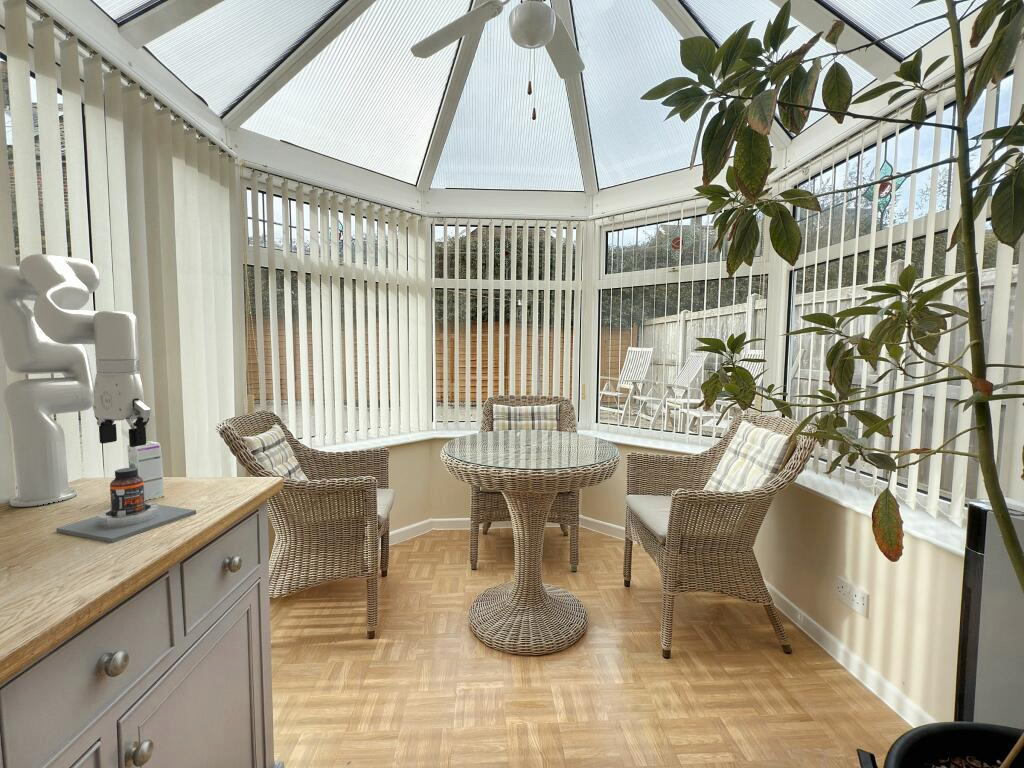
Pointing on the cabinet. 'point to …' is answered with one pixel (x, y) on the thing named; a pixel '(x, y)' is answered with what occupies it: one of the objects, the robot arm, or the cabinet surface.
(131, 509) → the supplement bottle
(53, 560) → the cabinet surface
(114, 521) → the ring collar
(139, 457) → the syrup box
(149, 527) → the rubber mat
